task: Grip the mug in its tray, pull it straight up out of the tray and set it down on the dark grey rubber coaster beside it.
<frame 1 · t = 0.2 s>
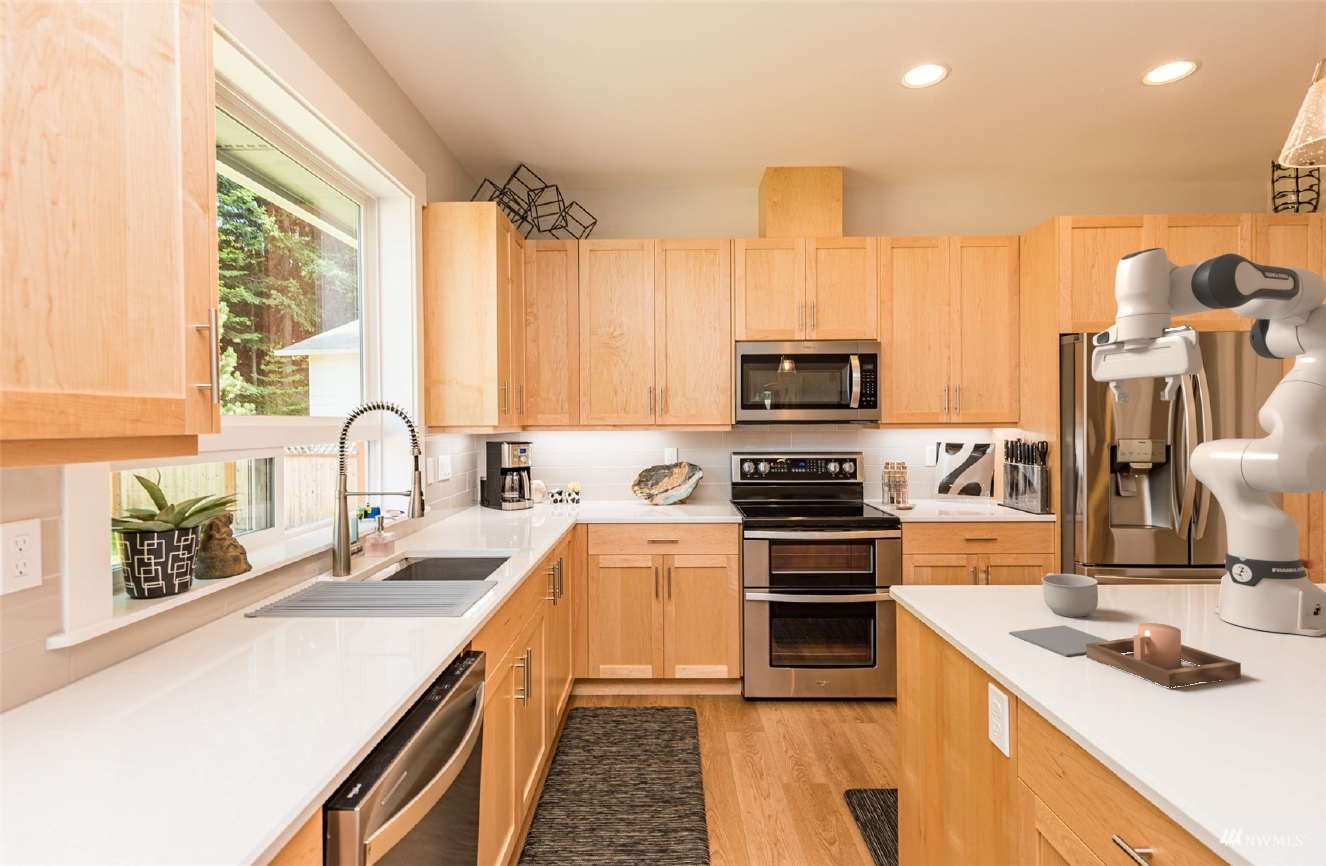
hand: (1144, 401, 128), 47 cm above the countertop, tool pointing down, fingers open, 8 cm apart
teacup: (1067, 612, 149), on the countertop
mug: (1159, 667, 115), resting in tray
coaster: (1065, 640, 129), on the countertop
tray: (1159, 666, 115), on the countertop
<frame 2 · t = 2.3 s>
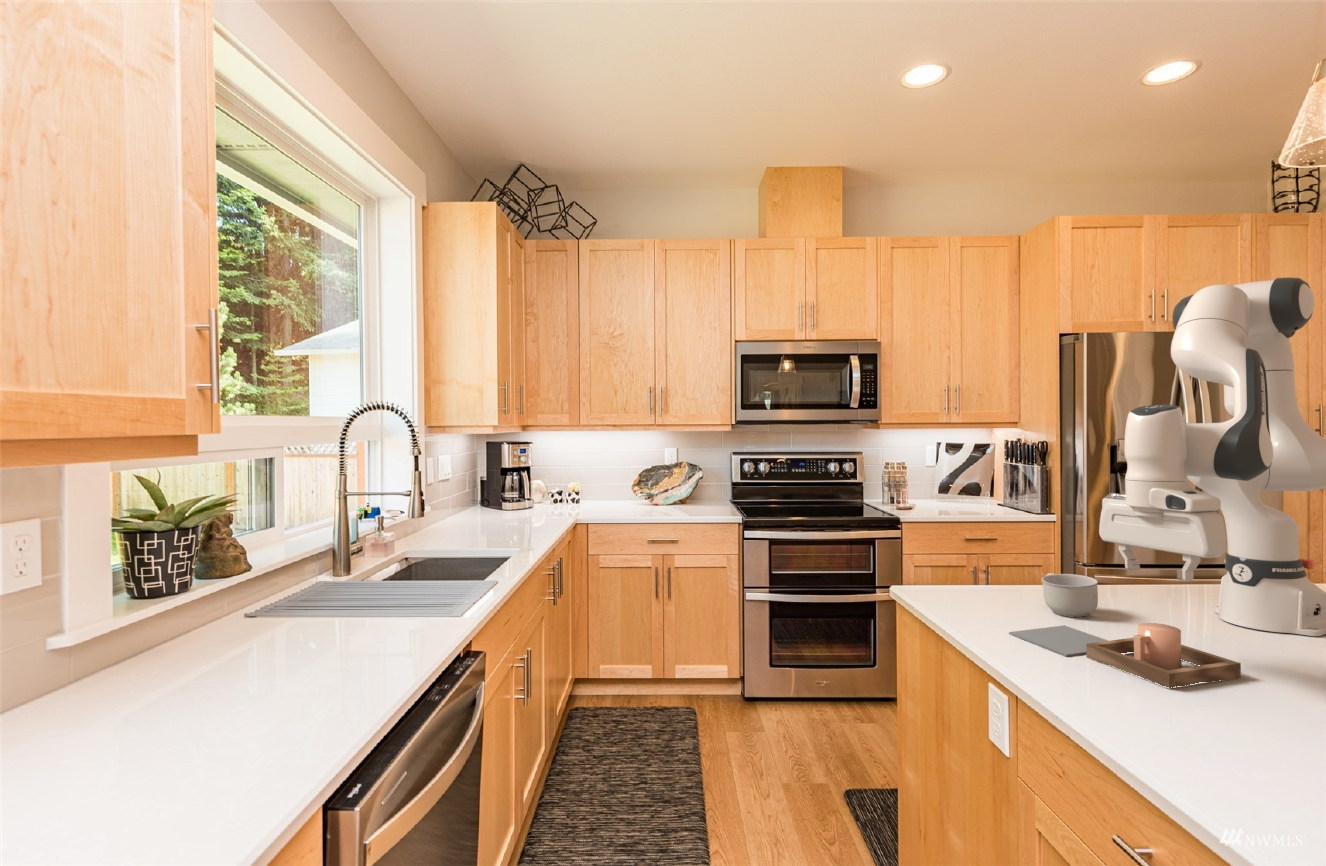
hand: (1157, 574, 114), 16 cm above the countertop, tool pointing down, fingers open, 8 cm apart
nothing on the countertop moved.
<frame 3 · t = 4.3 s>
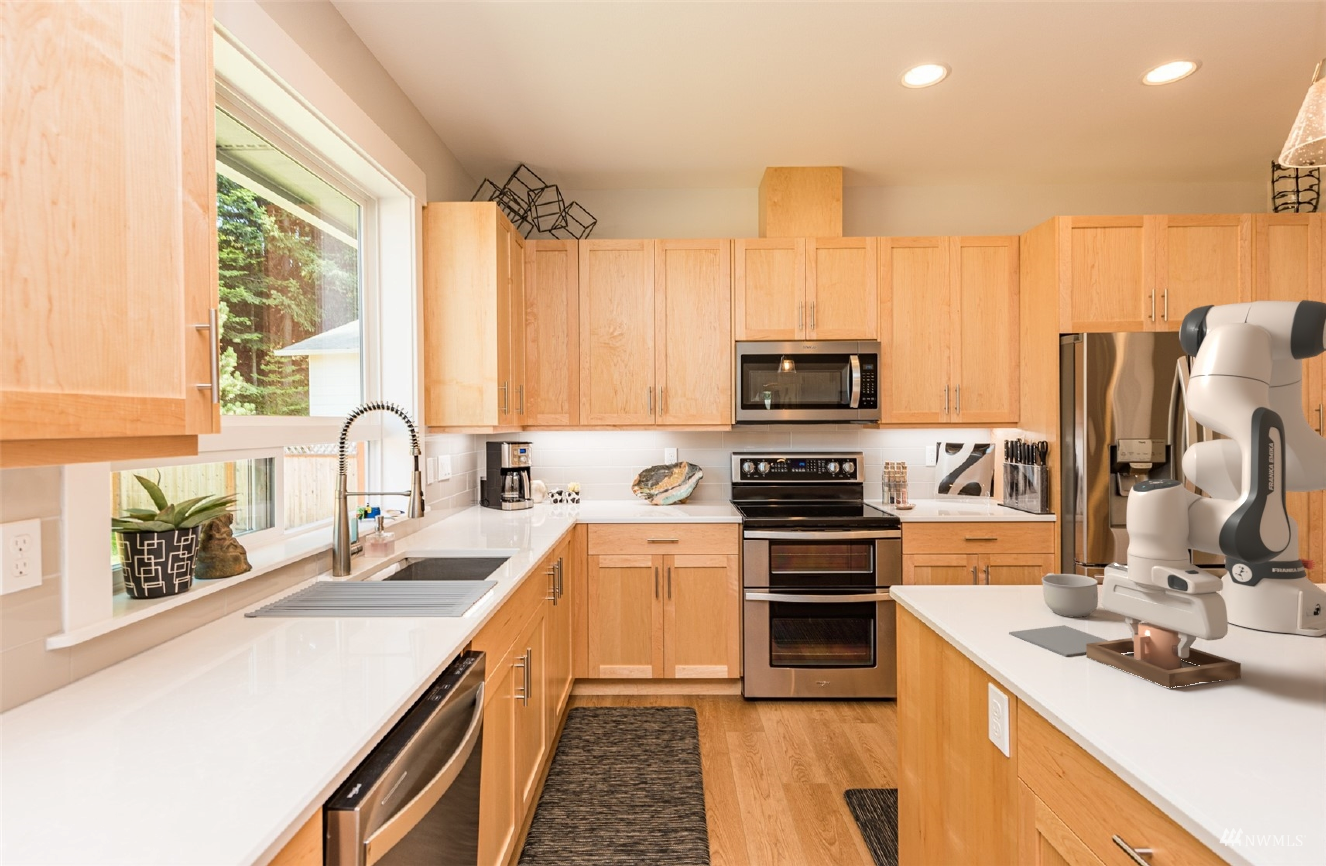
hand: (1159, 649, 115), 3 cm above the countertop, tool pointing down, fingers closed on mug, 6 cm apart
mug: (1159, 667, 115), resting in tray, touching gripper
everything else where it was.
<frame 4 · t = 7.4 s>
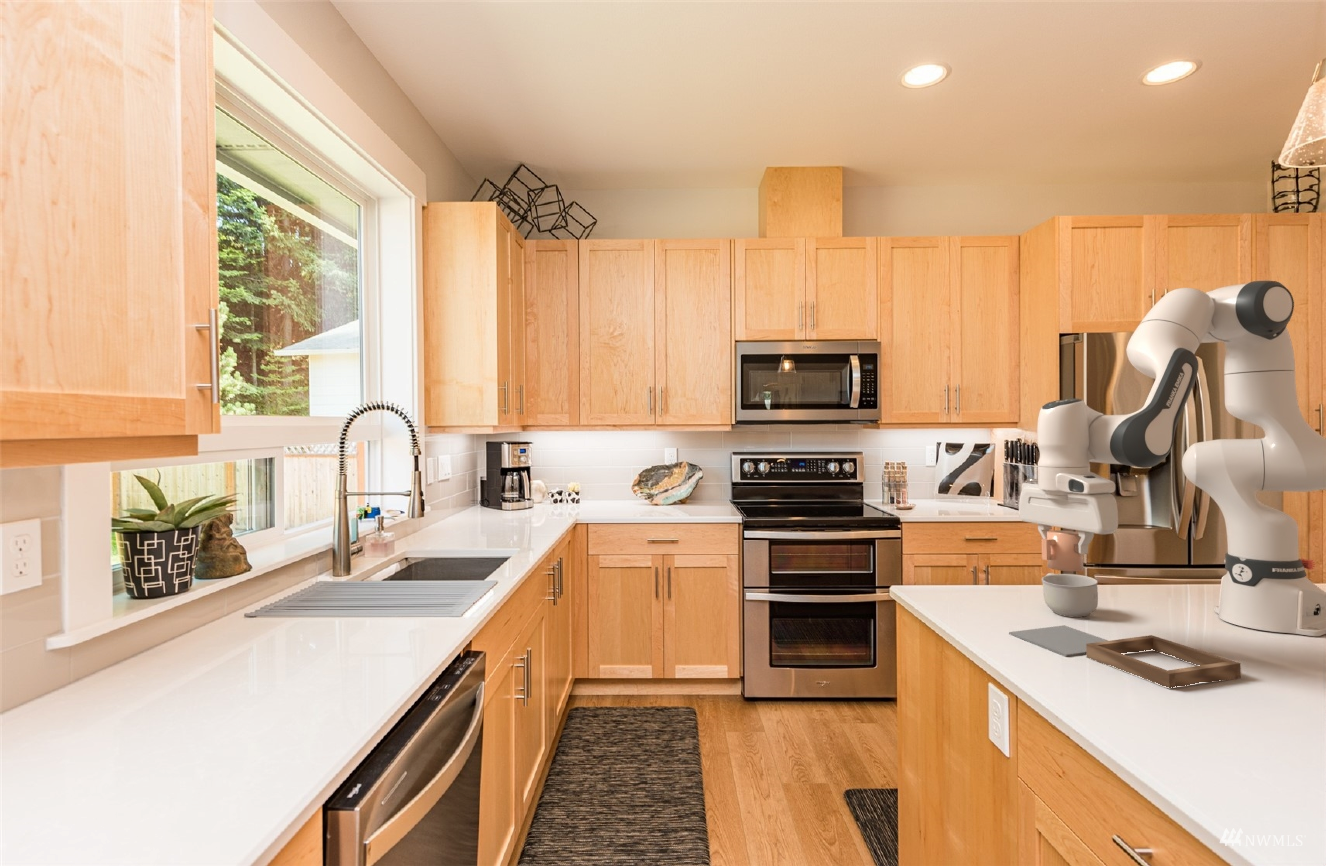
hand: (1065, 550, 129), 18 cm above the countertop, tool pointing down, fingers closed on mug, 6 cm apart
mug: (1065, 567, 129), point 15 cm above the countertop, touching gripper
everything else where it was.
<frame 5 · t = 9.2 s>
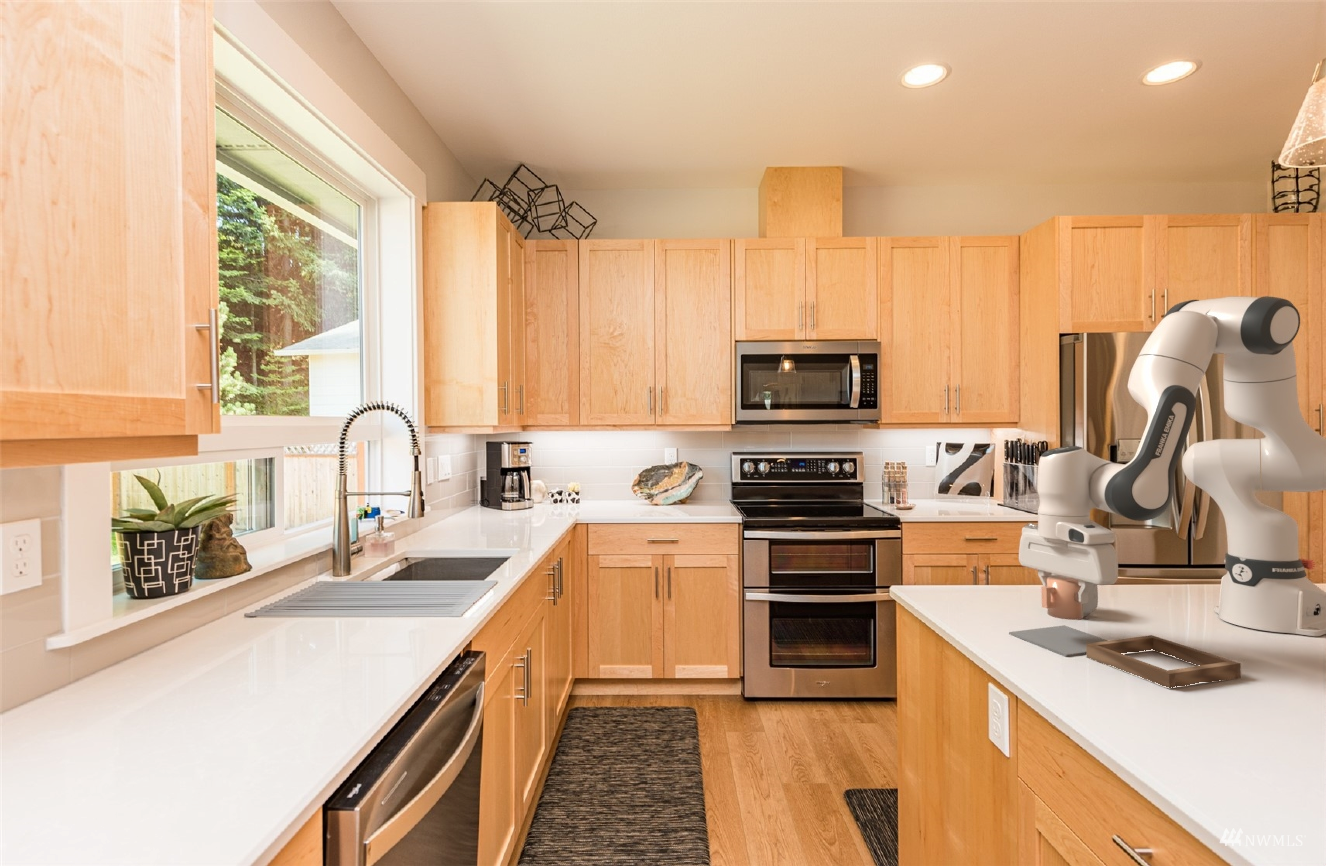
hand: (1065, 597, 129), 9 cm above the countertop, tool pointing down, fingers closed on mug, 6 cm apart
mug: (1065, 615, 129), point 5 cm above the countertop, touching gripper
everything else where it was.
when the fingers open (5 cm above the countertop, at t = 10.9 s): mug stays where it is, resting on coaster.
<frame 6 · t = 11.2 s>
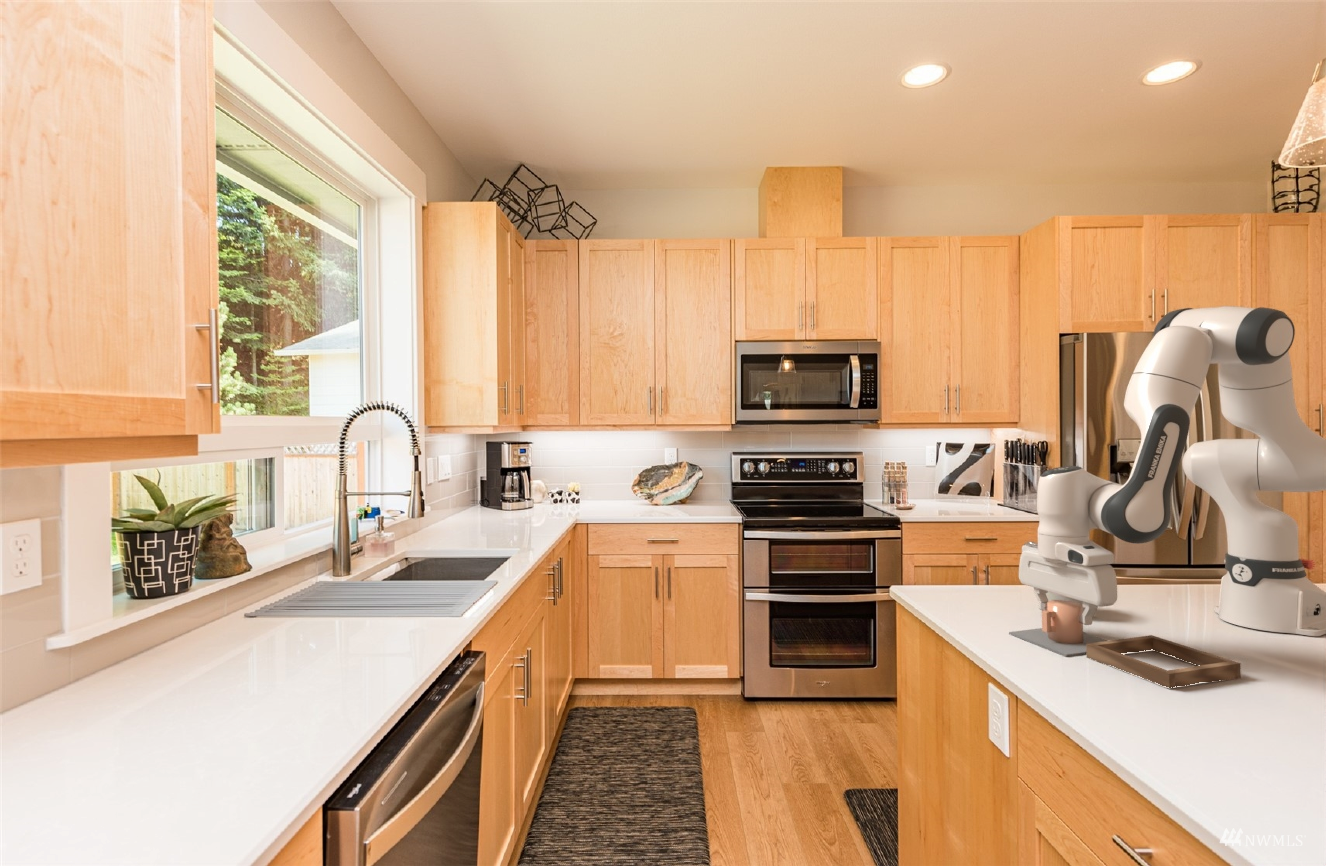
hand: (1064, 617, 129), 5 cm above the countertop, tool pointing down, fingers open, 8 cm apart
mug: (1065, 639, 129), resting on coaster
everything else where it was.
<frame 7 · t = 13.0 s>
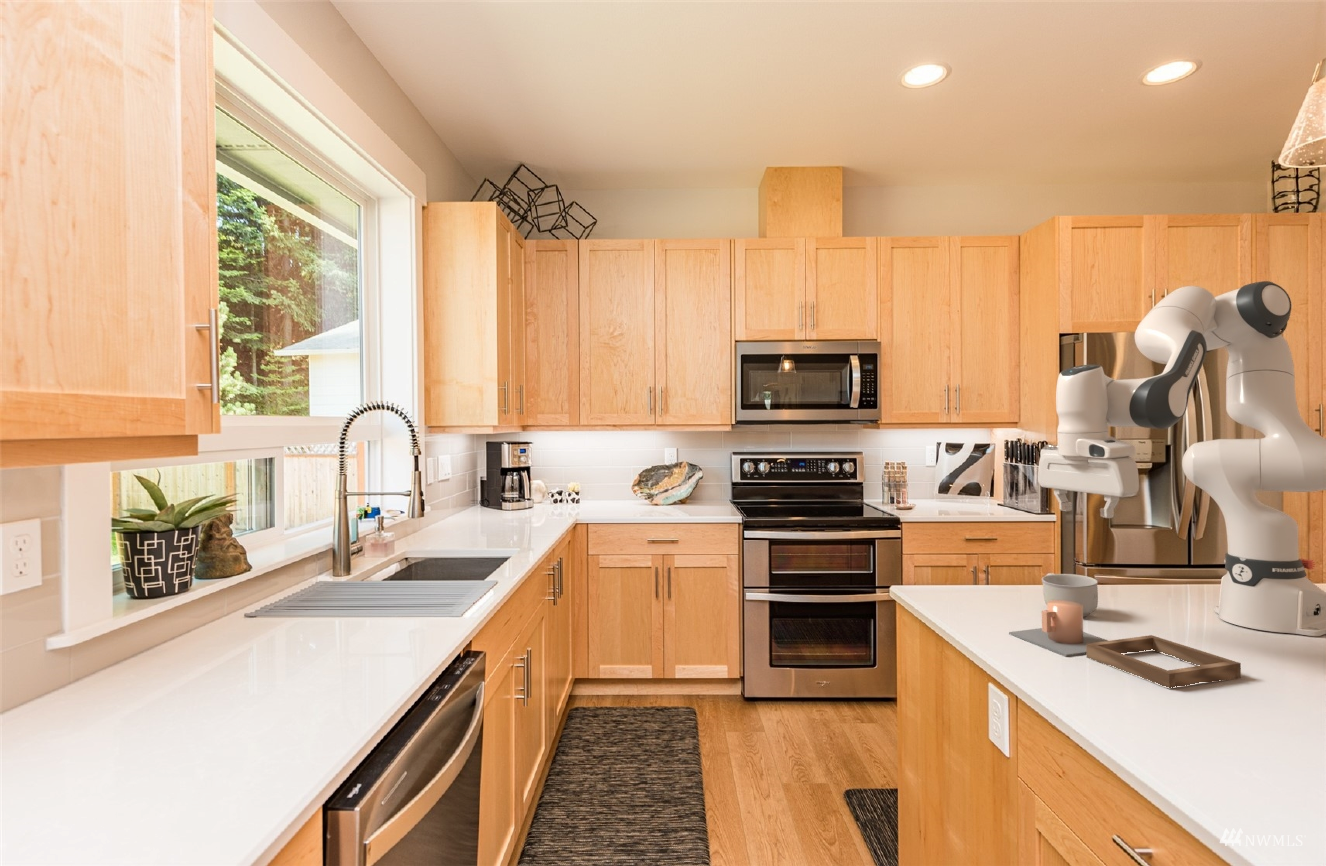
hand: (1085, 513, 131), 25 cm above the countertop, tool pointing down, fingers open, 8 cm apart
nothing on the countertop moved.
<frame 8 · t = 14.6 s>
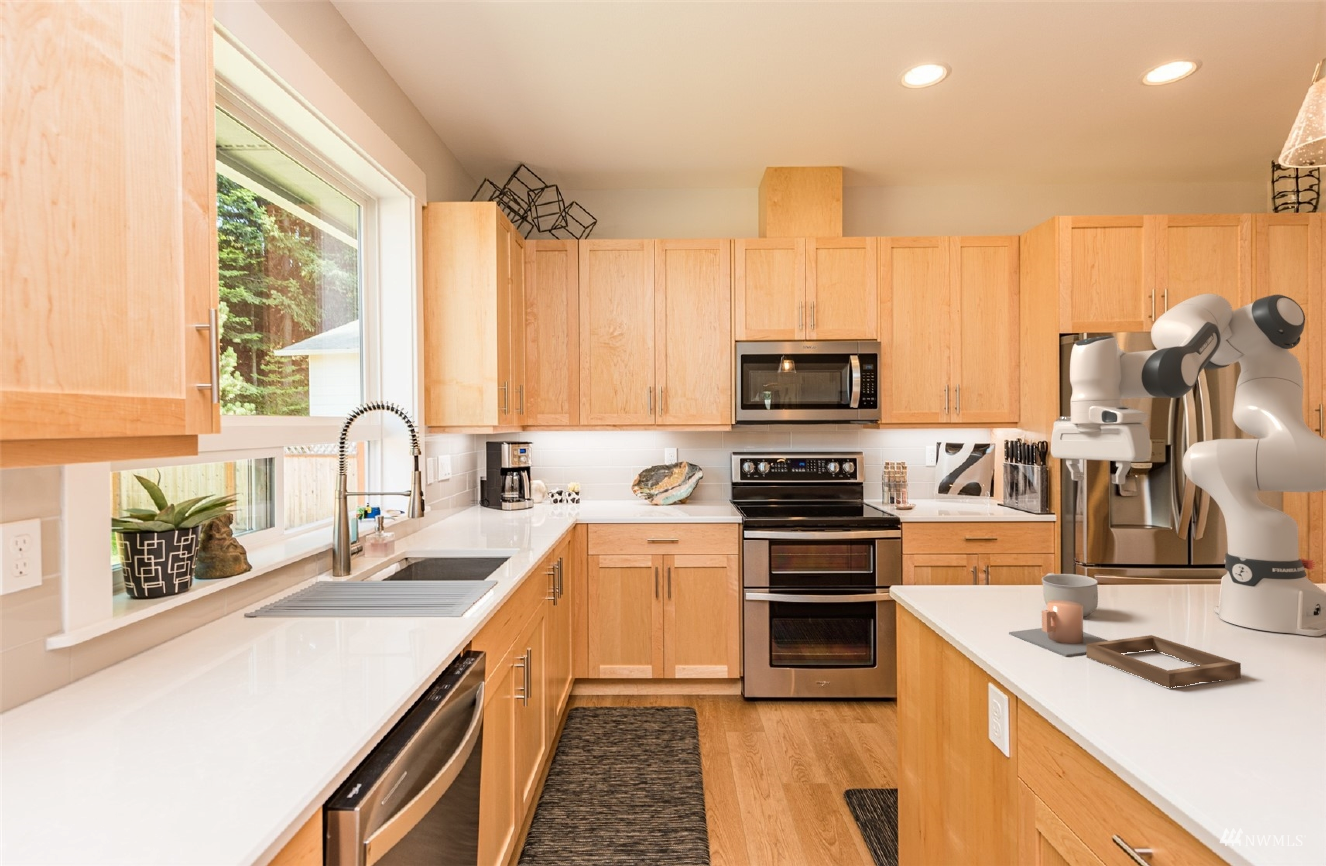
hand: (1097, 482, 133), 31 cm above the countertop, tool pointing down, fingers open, 8 cm apart
nothing on the countertop moved.
at the end: mug 0.1 cm off-centre on the coaster, point 0.4 cm above the coaster's base; mug tilted 0°; mug touching coaster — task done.
